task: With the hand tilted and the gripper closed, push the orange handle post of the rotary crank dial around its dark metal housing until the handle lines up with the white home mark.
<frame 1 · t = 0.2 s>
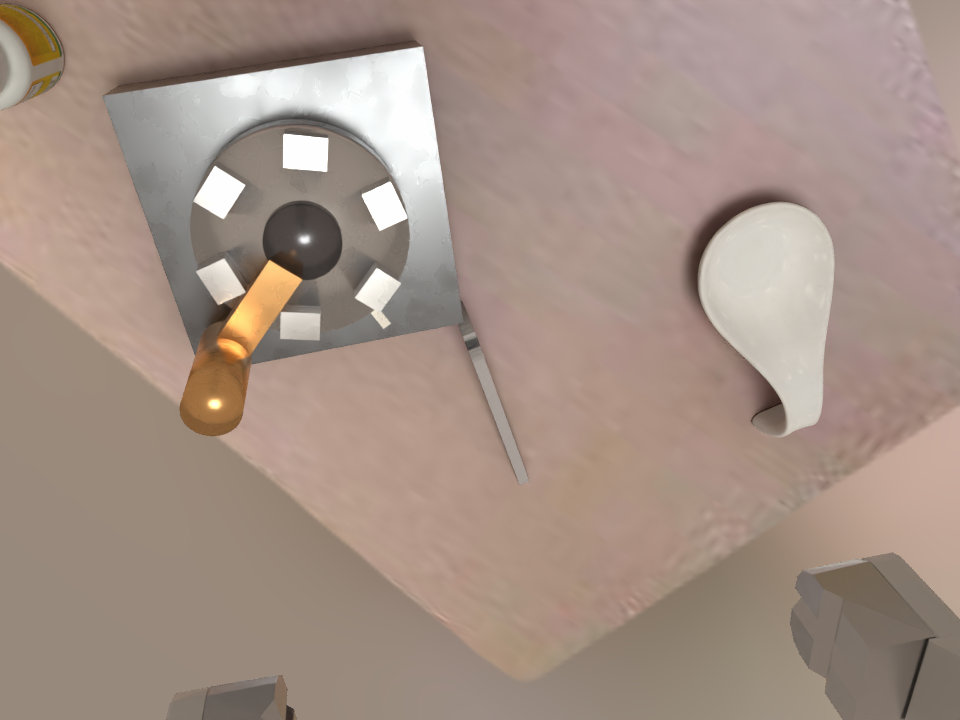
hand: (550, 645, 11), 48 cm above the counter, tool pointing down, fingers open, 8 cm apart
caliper: (491, 396, 66), on the counter
housing: (304, 206, 55), on the counter
spoon rest: (754, 313, 68), on the counter
supplement bottle: (20, 48, 47), on the counter
rotary crank dial: (282, 279, 47), point 10 cm above the counter, hinge at 0.0°
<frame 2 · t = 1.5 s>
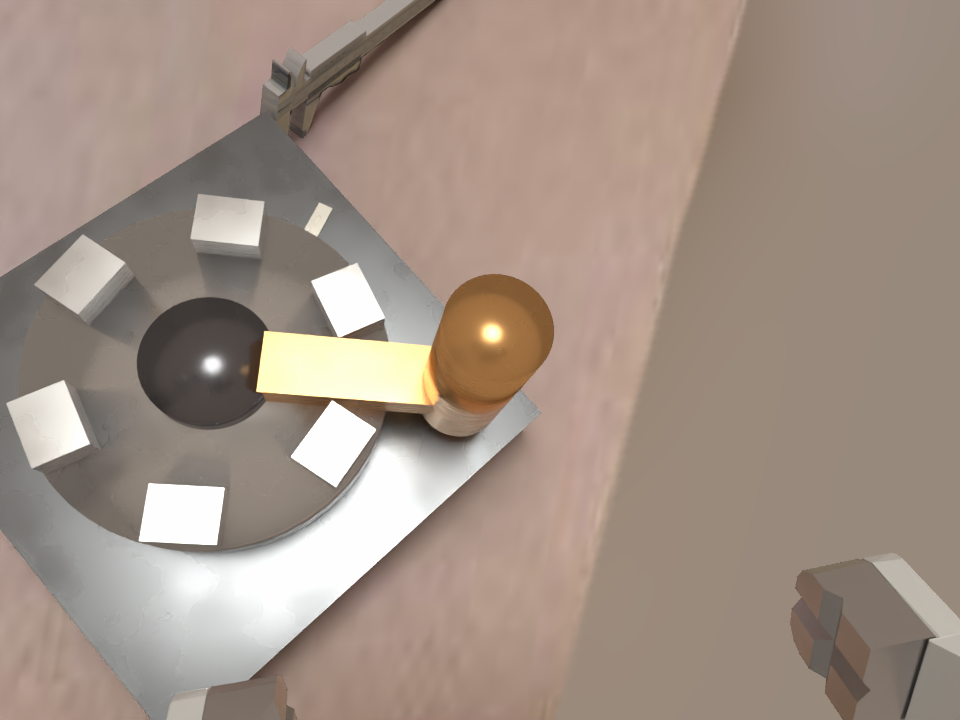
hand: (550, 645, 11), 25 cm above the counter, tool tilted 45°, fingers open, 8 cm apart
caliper: (389, 46, 44), on the counter
housing: (238, 408, 36), on the counter
rotary crank dial: (269, 355, 27), point 10 cm above the counter, hinge at 0.0°
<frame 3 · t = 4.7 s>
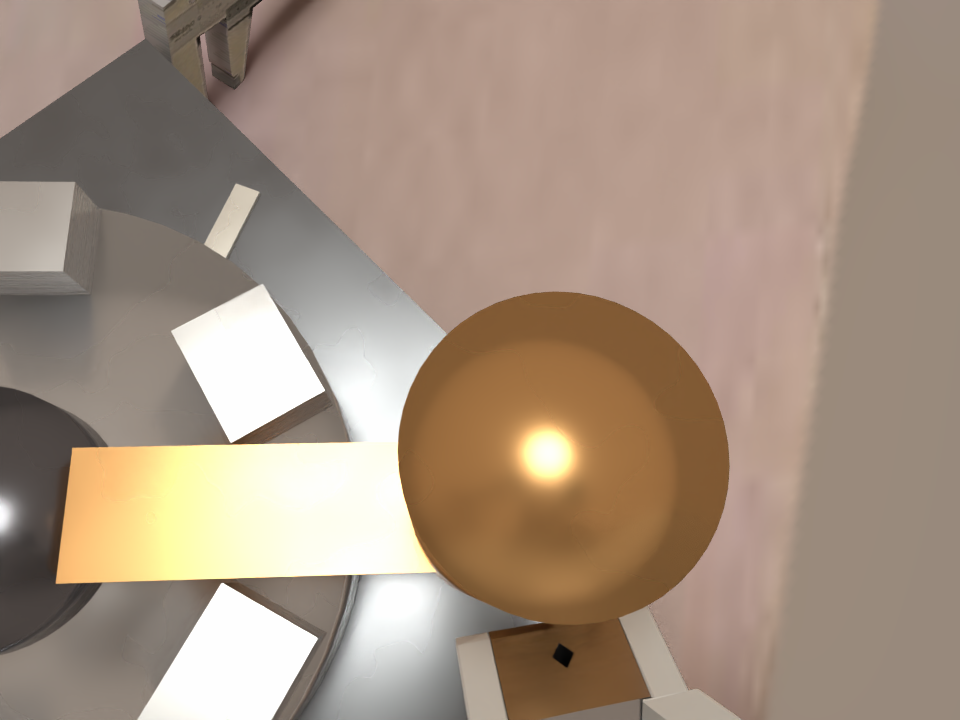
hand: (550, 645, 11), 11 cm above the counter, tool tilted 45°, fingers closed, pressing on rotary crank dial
housing: (134, 540, 22), on the counter
rotary crank dial: (65, 509, 13), point 10 cm above the counter, hinge at 1.7°, touching gripper
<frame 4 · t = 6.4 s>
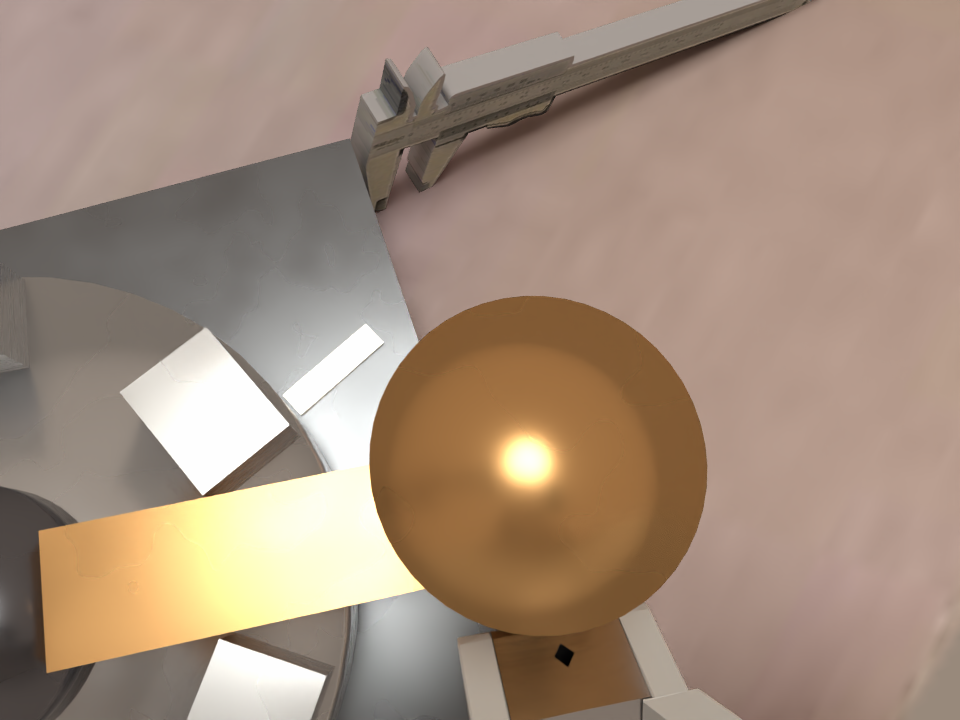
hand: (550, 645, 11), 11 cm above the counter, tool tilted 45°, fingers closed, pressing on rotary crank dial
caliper: (612, 90, 27), on the counter
housing: (123, 603, 21), on the counter
rotary crank dial: (42, 596, 12), point 10 cm above the counter, hinge at 37.9°, touching gripper
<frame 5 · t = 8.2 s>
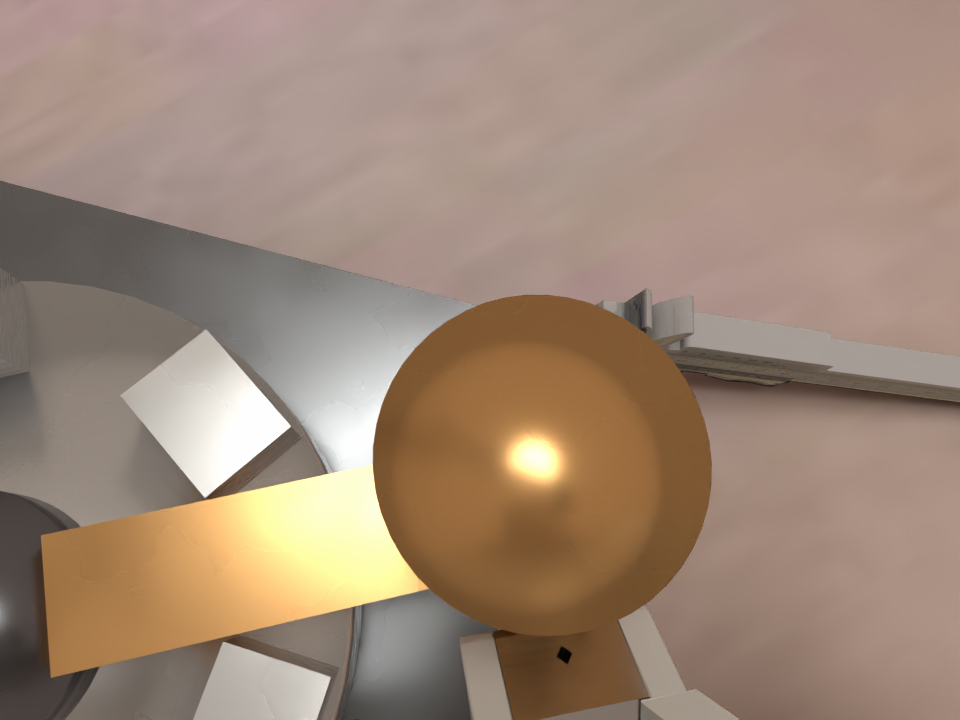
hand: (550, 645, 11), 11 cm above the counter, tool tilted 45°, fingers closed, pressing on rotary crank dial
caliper: (852, 391, 25), on the counter
housing: (126, 607, 21), on the counter
rotary crank dial: (45, 601, 12), point 10 cm above the counter, hinge at 71.9°, touching gripper
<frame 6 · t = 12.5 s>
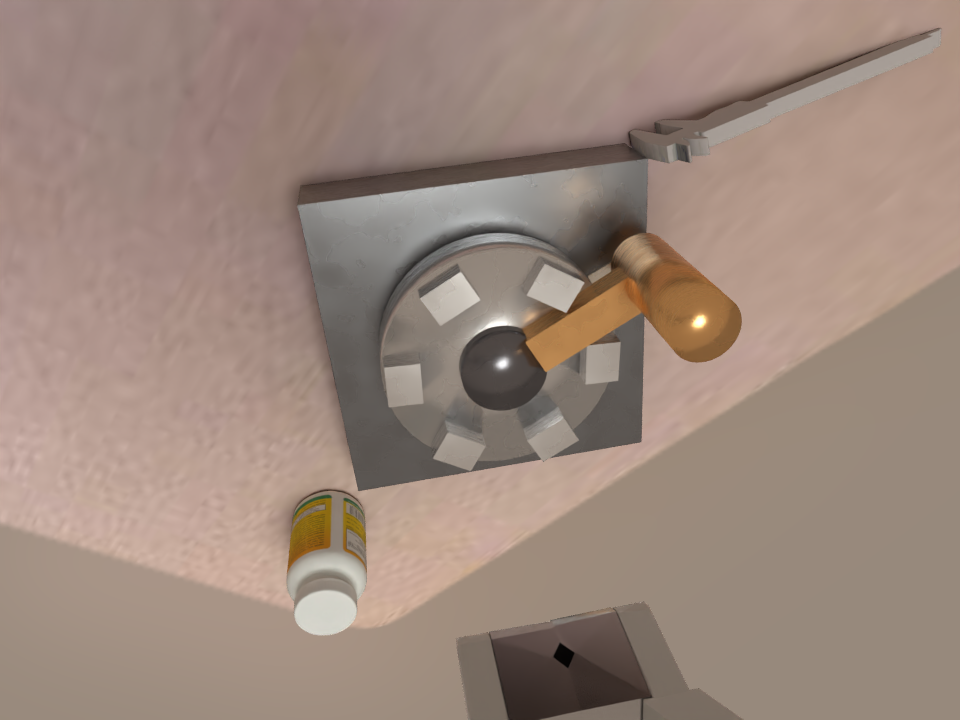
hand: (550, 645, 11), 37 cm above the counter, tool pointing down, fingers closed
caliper: (780, 86, 46), on the counter
housing: (480, 312, 50), on the counter
supplement bottle: (328, 514, 56), on the counter
rotary crank dial: (545, 360, 41), point 10 cm above the counter, hinge at 71.9°
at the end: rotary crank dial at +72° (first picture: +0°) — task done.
